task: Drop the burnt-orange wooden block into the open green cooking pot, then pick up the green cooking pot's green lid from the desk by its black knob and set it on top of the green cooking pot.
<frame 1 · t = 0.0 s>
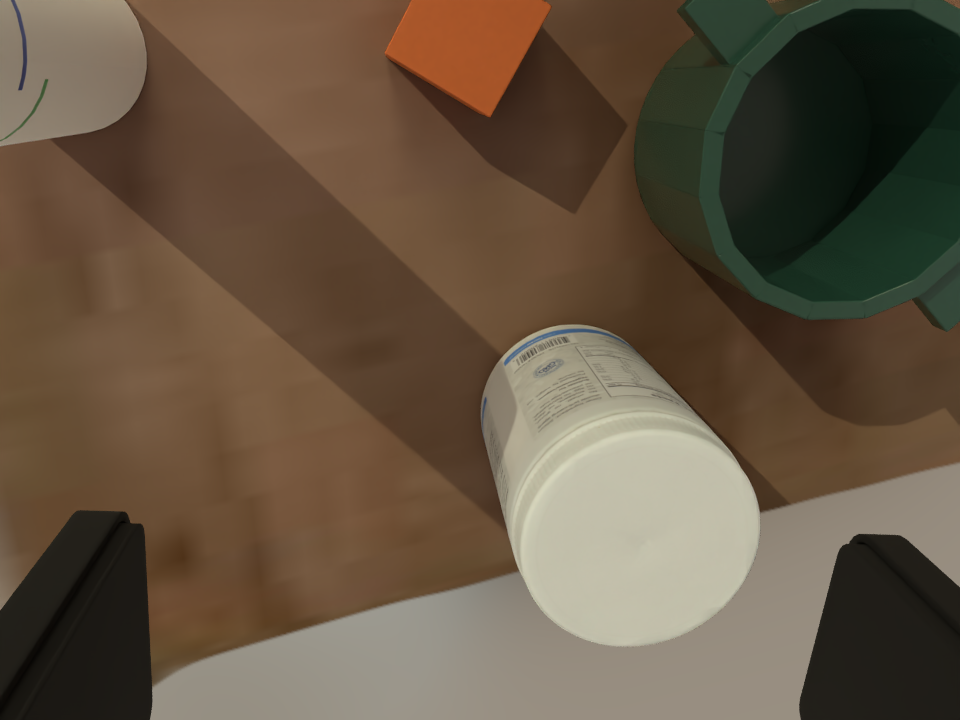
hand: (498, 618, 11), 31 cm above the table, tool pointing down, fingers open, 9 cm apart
block: (459, 36, 38), on the table
green cooking pot: (757, 145, 40), on the table
cylindrical container: (65, 50, 36), on the table
supplement tub: (565, 401, 44), on the table
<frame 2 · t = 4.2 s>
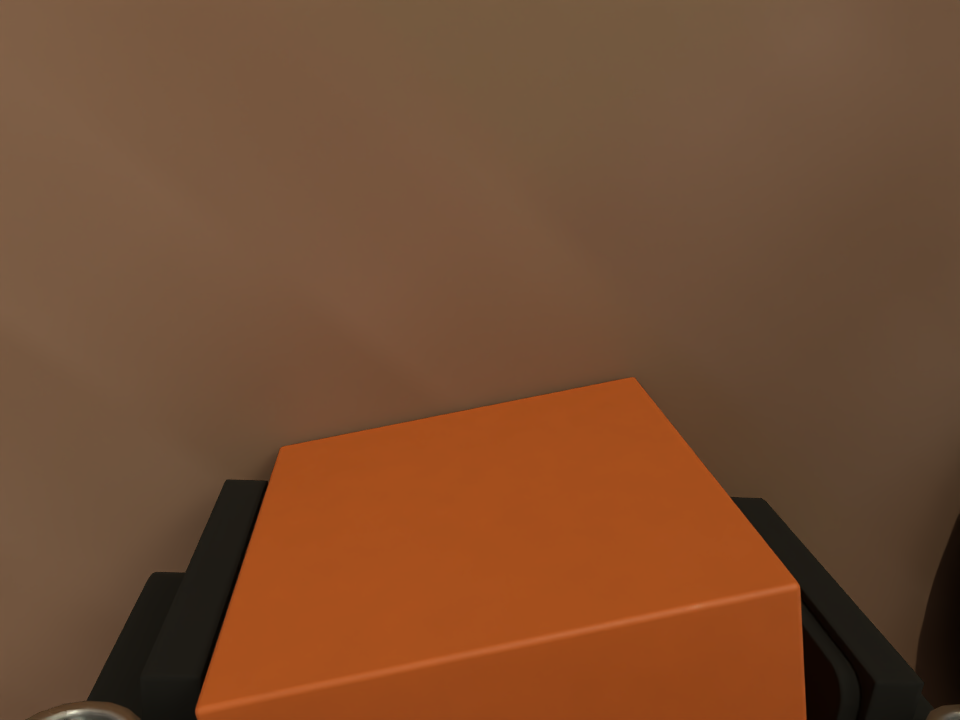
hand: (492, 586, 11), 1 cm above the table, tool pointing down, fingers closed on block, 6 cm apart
block: (488, 562, 12), on the table, touching gripper
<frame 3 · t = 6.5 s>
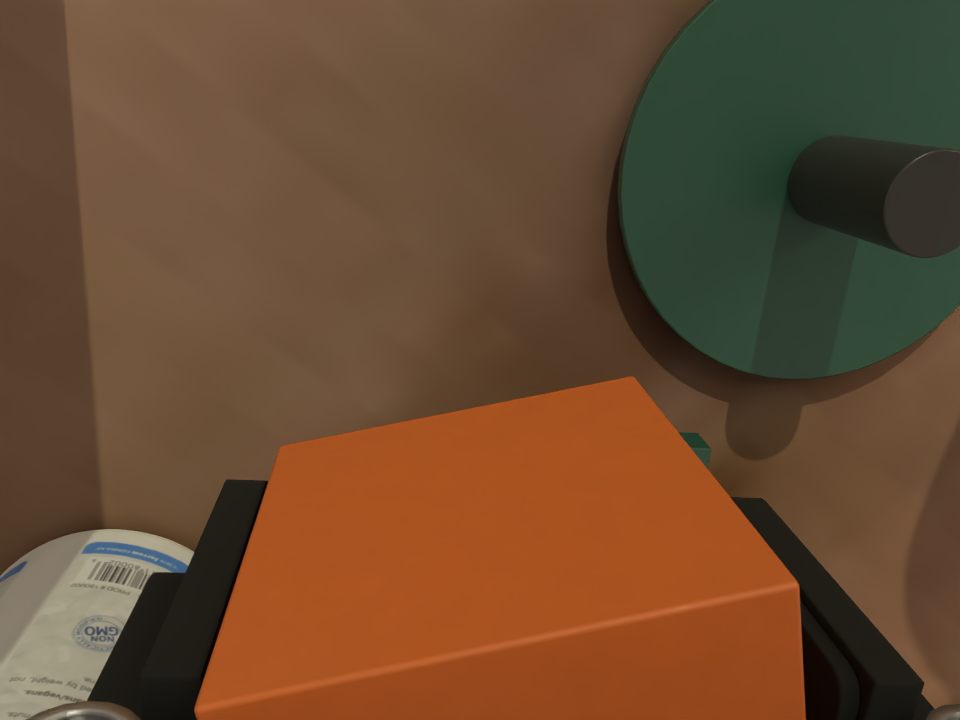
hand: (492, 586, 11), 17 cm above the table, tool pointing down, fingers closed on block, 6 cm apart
block: (488, 562, 12), point 16 cm above the table, touching gripper
green cooking pot: (559, 565, 31), on the table
lid: (822, 178, 26), point 1 cm above the table
supplement tub: (128, 626, 30), on the table
when the fingers open (10 cm above the table, at t = 9.3 s): block drops 9 cm, resting on green cooking pot.
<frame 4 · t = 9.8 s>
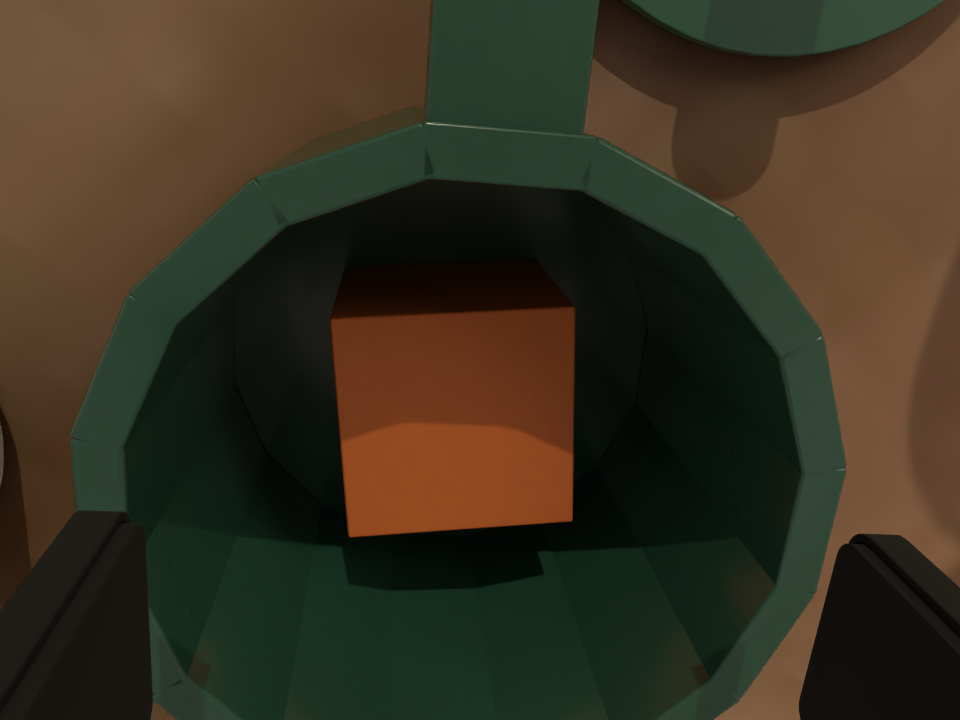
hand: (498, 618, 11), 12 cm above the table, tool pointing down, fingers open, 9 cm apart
block: (444, 353, 22), point 1 cm above the table, touching green cooking pot
green cooking pot: (442, 348, 22), on the table
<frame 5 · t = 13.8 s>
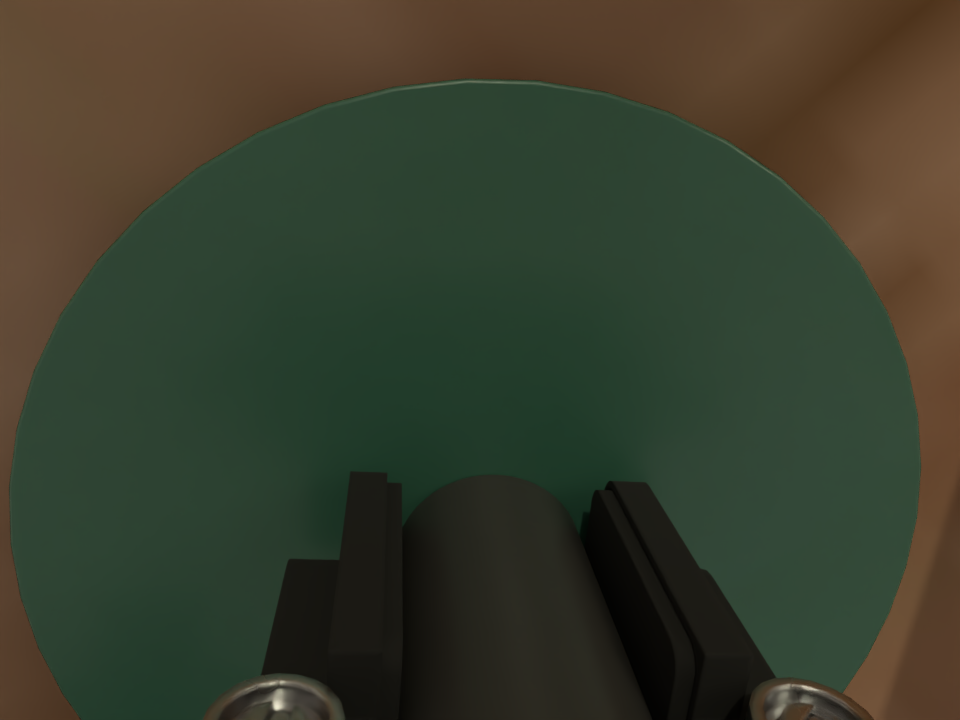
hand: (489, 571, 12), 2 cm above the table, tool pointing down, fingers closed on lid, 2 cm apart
lid: (484, 538, 13), point 1 cm above the table, touching gripper
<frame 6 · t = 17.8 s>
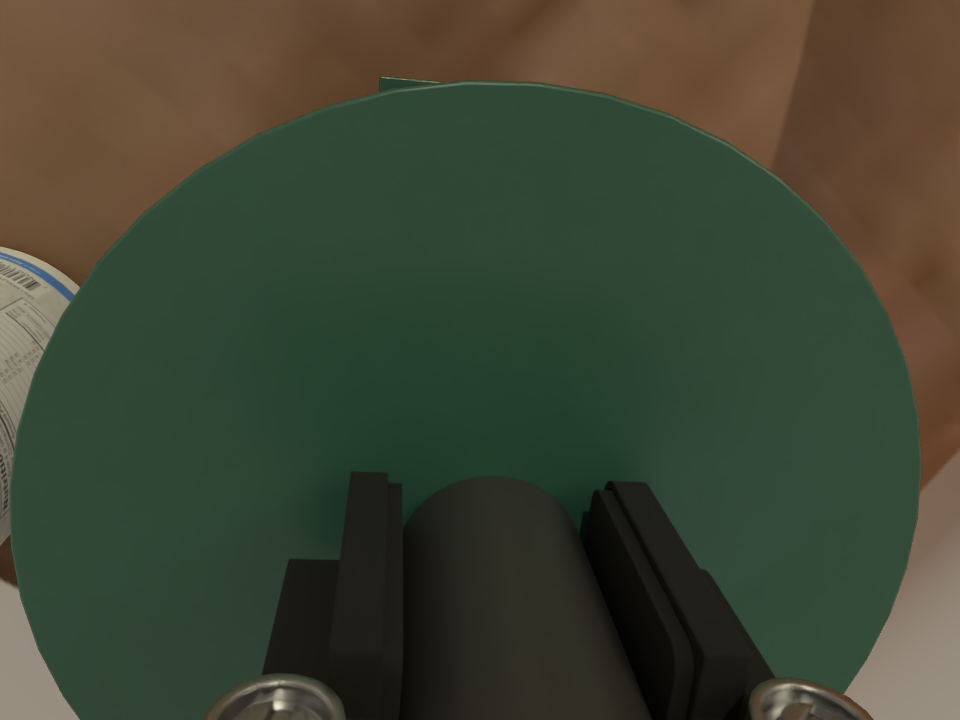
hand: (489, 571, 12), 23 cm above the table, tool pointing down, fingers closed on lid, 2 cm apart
green cooking pot: (403, 306, 34), on the table
lid: (484, 540, 13), point 22 cm above the table, touching gripper
supplement tub: (7, 352, 33), on the table
when the fingers open (10 cm above the table, at t = 21.7 s): lid stays where it is, resting on green cooking pot.
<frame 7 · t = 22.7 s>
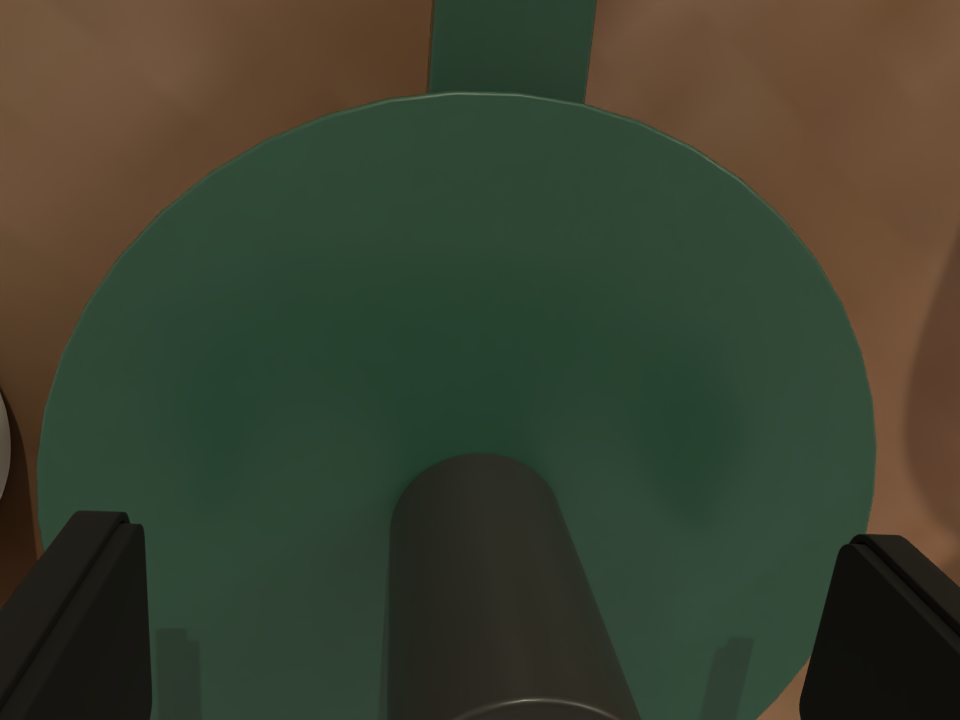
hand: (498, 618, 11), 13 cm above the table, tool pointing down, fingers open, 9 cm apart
green cooking pot: (443, 343, 23), on the table
lid: (473, 514, 14), point 9 cm above the table, touching green cooking pot
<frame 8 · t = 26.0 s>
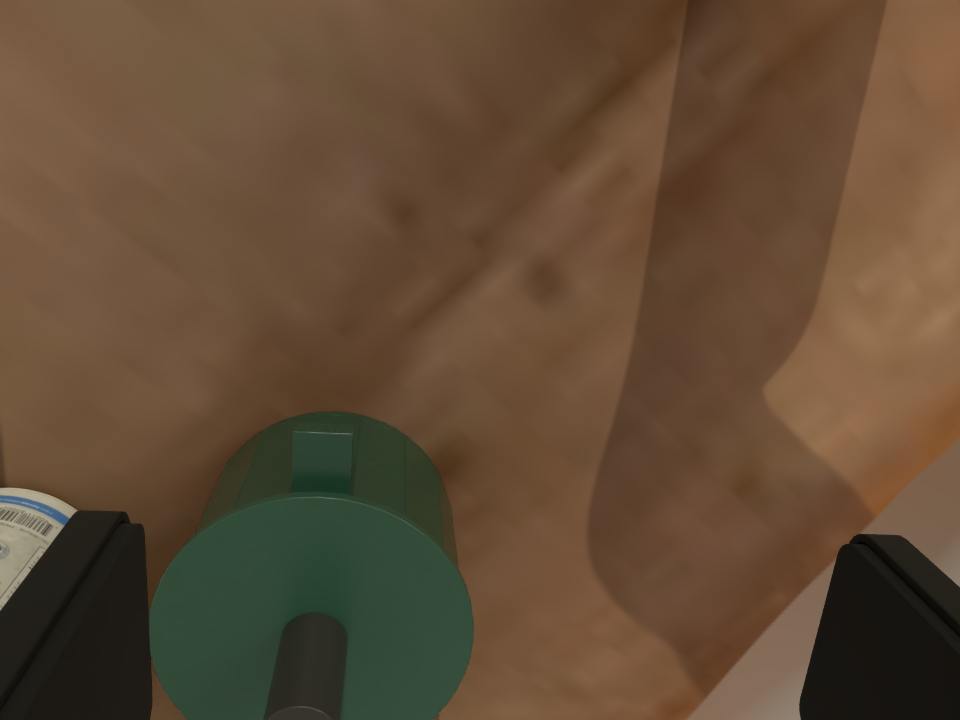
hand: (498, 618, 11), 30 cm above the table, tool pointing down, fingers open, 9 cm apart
green cooking pot: (332, 519, 44), on the table
lid: (315, 632, 35), point 9 cm above the table, touching green cooking pot
supplement tub: (26, 558, 43), on the table
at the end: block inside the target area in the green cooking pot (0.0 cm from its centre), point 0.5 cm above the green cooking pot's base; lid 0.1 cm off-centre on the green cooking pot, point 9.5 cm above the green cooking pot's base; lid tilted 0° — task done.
